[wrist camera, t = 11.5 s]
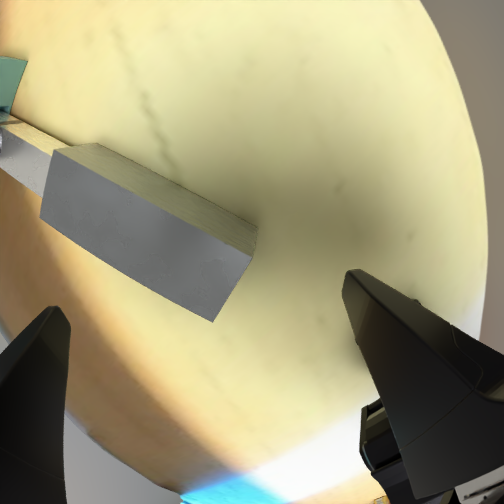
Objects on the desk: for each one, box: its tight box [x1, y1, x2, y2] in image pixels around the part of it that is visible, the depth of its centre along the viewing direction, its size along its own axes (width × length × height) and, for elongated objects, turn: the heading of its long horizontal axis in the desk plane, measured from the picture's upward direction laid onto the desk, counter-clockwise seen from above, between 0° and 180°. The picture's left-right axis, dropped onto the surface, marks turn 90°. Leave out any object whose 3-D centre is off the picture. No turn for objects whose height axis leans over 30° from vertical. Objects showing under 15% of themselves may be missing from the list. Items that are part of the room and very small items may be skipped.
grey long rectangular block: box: [40, 143, 258, 322], centre depth 17 cm, size 14×5×5 cm, turn 61°
